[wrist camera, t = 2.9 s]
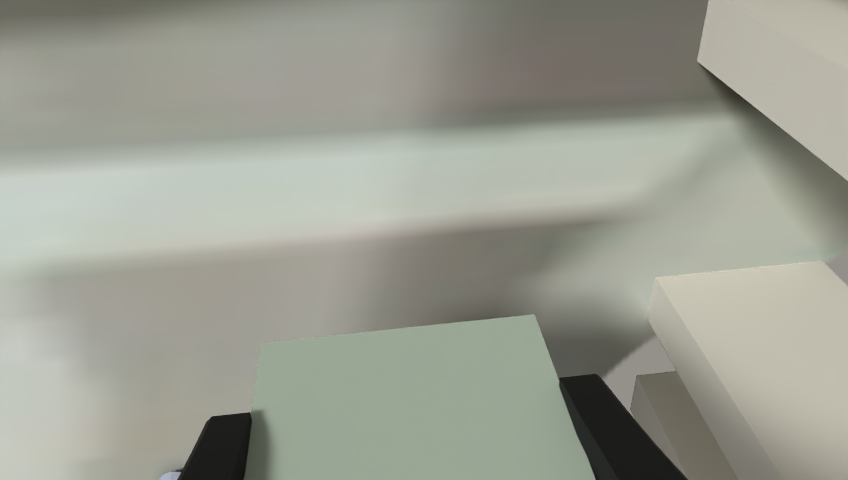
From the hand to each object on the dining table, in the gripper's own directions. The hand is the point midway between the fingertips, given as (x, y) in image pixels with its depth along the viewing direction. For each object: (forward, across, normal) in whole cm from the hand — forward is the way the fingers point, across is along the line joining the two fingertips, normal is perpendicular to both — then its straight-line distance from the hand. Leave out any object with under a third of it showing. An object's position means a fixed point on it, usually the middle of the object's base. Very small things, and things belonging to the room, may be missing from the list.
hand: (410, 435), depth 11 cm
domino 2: (+7, -10, +4) cm, 13 cm away
